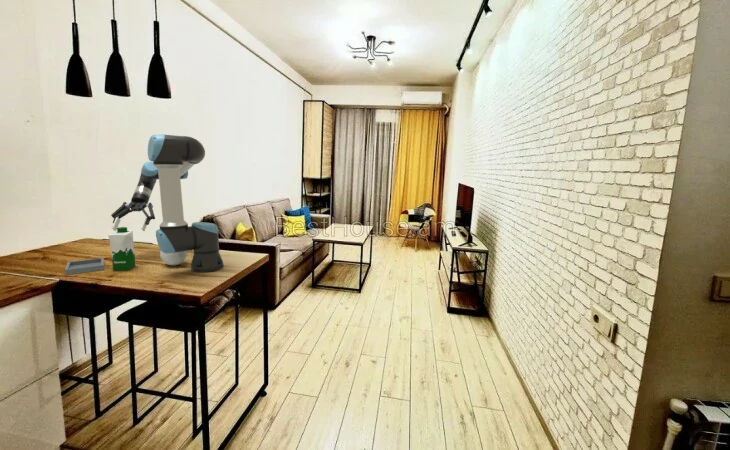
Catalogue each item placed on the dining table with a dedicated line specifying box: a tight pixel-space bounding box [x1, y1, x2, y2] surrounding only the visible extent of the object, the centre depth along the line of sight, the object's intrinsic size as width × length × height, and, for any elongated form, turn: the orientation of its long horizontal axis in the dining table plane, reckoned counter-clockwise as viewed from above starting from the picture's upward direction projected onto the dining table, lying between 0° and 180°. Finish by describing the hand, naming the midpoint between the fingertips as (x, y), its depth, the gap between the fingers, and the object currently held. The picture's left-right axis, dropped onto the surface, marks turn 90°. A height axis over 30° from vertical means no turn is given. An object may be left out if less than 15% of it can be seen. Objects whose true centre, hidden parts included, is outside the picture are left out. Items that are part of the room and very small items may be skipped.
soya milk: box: [108, 226, 136, 272], centre depth 164 cm, size 9×9×20 cm
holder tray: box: [64, 257, 105, 276], centre depth 164 cm, size 14×14×2 cm
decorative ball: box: [159, 250, 188, 266], centre depth 173 cm, size 12×12×12 cm
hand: (128, 229), depth 170 cm, fingers open, 13 cm apart
